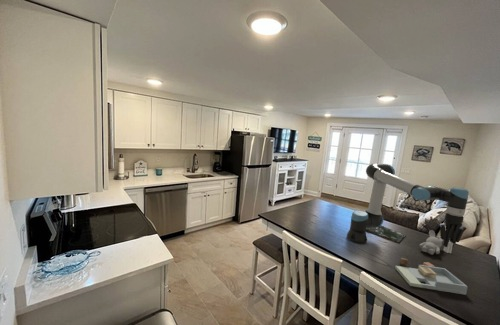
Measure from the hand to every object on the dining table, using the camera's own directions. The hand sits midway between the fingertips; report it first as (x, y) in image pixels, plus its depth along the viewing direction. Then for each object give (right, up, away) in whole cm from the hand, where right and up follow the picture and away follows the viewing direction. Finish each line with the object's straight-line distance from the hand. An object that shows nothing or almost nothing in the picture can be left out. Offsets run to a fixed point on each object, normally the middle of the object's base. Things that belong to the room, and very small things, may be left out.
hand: (447, 251), depth 121 cm
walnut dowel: (-16, -16, +14) cm, 26 cm away
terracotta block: (-1, -17, +12) cm, 21 cm away
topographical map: (+4, -11, +66) cm, 67 cm away
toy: (+27, -16, +39) cm, 50 cm away
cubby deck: (-12, -18, +1) cm, 21 cm away
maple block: (-9, -16, +3) cm, 18 cm away
